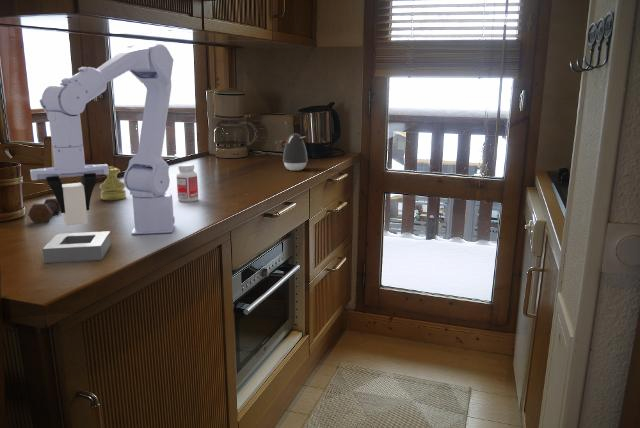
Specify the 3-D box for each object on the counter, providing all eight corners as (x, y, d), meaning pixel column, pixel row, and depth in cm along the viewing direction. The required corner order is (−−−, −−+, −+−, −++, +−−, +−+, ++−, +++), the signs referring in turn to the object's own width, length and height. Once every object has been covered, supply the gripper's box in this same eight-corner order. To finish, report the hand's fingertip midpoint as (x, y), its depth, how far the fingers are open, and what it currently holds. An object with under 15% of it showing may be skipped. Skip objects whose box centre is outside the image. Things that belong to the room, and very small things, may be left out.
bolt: (61, 216, 151) (44, 228, 137) (44, 208, 150) (24, 219, 136) (70, 198, 151) (54, 209, 136) (53, 190, 150) (34, 200, 135)
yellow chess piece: (97, 198, 166) (93, 166, 163) (119, 194, 171) (117, 164, 168) (107, 202, 161) (104, 169, 158) (130, 198, 166) (127, 166, 163)
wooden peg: (84, 219, 114) (80, 182, 112) (87, 223, 111) (83, 185, 109) (64, 221, 112) (60, 184, 110) (67, 225, 109) (62, 187, 107)
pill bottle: (198, 197, 167) (196, 163, 165) (198, 201, 162) (197, 166, 159) (177, 198, 166) (175, 163, 163) (177, 202, 160) (175, 166, 157)
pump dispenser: (300, 172, 215) (300, 135, 211) (278, 170, 219) (278, 133, 215) (312, 169, 224) (312, 132, 220) (290, 167, 228) (290, 131, 224)
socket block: (111, 244, 119) (110, 231, 119) (101, 259, 109) (100, 245, 108) (58, 246, 117) (57, 233, 116) (44, 263, 107) (42, 248, 106)
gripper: (101, 142, 115) (107, 203, 118) (25, 146, 107) (34, 211, 110) (108, 145, 109) (114, 209, 112) (28, 149, 101) (37, 218, 104)
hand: (74, 210), depth 111 cm, fingers closed on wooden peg, 4 cm apart
